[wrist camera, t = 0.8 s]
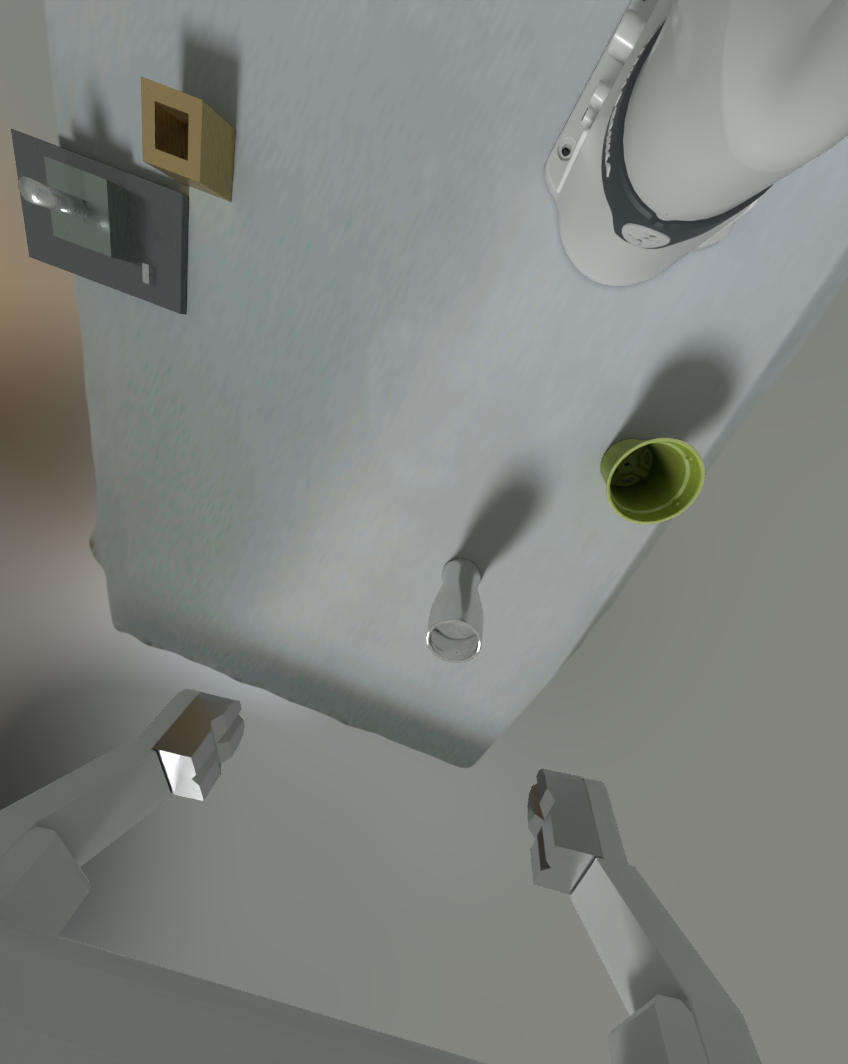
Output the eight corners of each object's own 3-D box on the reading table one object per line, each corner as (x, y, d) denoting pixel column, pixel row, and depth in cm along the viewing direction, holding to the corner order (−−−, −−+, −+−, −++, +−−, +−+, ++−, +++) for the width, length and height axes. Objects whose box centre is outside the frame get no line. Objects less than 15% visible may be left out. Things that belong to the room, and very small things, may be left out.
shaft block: (21, 133, 41) (-85, 82, 33) (188, 197, 41) (121, 160, 34) (38, 258, 46) (-50, 238, 39) (186, 314, 46) (127, 305, 39)
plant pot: (664, 413, 43) (703, 425, 35) (670, 486, 46) (708, 512, 39) (580, 438, 46) (600, 454, 38) (593, 505, 49) (613, 533, 41)
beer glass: (471, 549, 54) (466, 610, 41) (491, 585, 57) (493, 654, 43) (430, 565, 57) (414, 629, 43) (451, 599, 59) (442, 670, 45)
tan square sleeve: (181, 109, 38) (140, 76, 34) (235, 130, 38) (202, 99, 34) (180, 182, 41) (142, 160, 36) (231, 201, 41) (199, 182, 36)
